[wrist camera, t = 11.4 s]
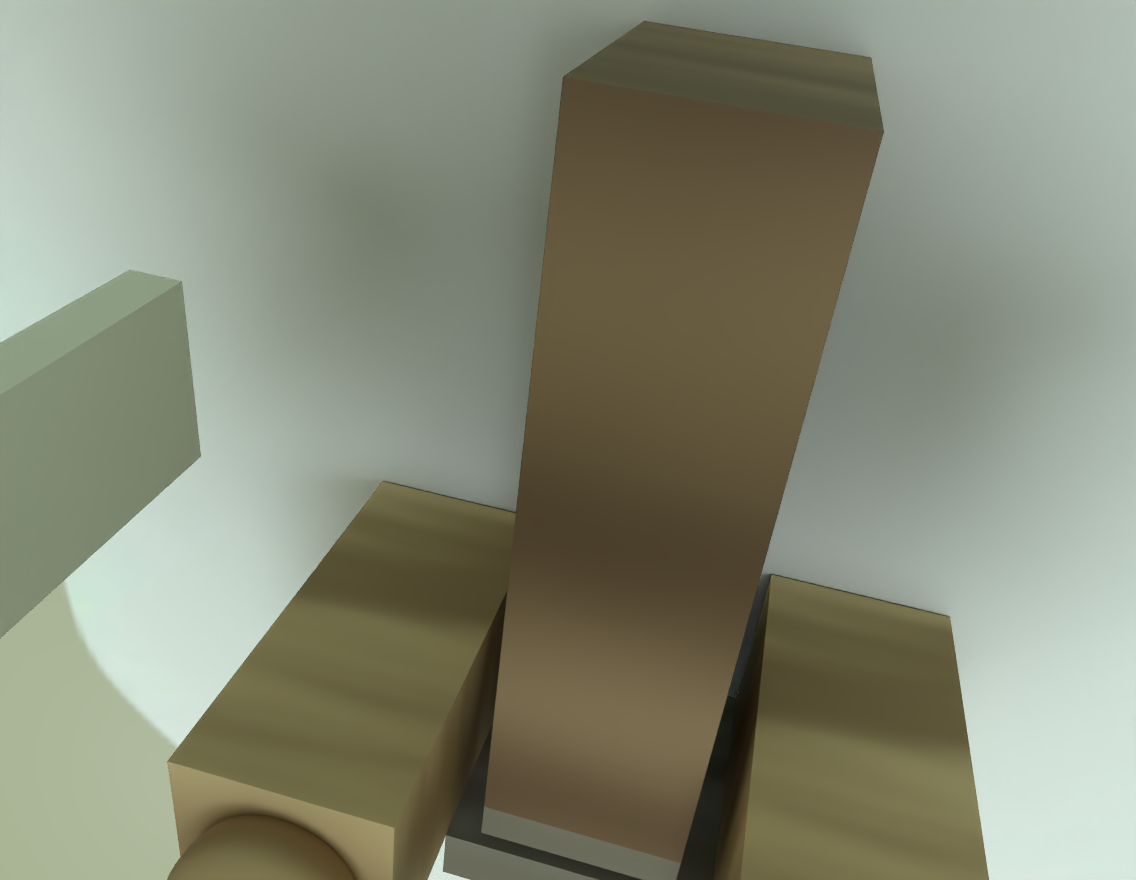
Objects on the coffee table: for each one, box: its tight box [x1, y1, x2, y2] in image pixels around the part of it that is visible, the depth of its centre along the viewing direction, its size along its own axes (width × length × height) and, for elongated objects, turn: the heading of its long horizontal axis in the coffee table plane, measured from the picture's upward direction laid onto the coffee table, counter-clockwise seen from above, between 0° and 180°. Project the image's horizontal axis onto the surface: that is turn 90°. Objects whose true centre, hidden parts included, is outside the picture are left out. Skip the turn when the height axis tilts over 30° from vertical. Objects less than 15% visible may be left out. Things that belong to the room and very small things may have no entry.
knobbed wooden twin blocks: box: [167, 482, 989, 880], centre depth 19 cm, size 5×14×11 cm, turn 83°
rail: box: [481, 21, 884, 880], centre depth 18 cm, size 15×4×6 cm, turn 173°
